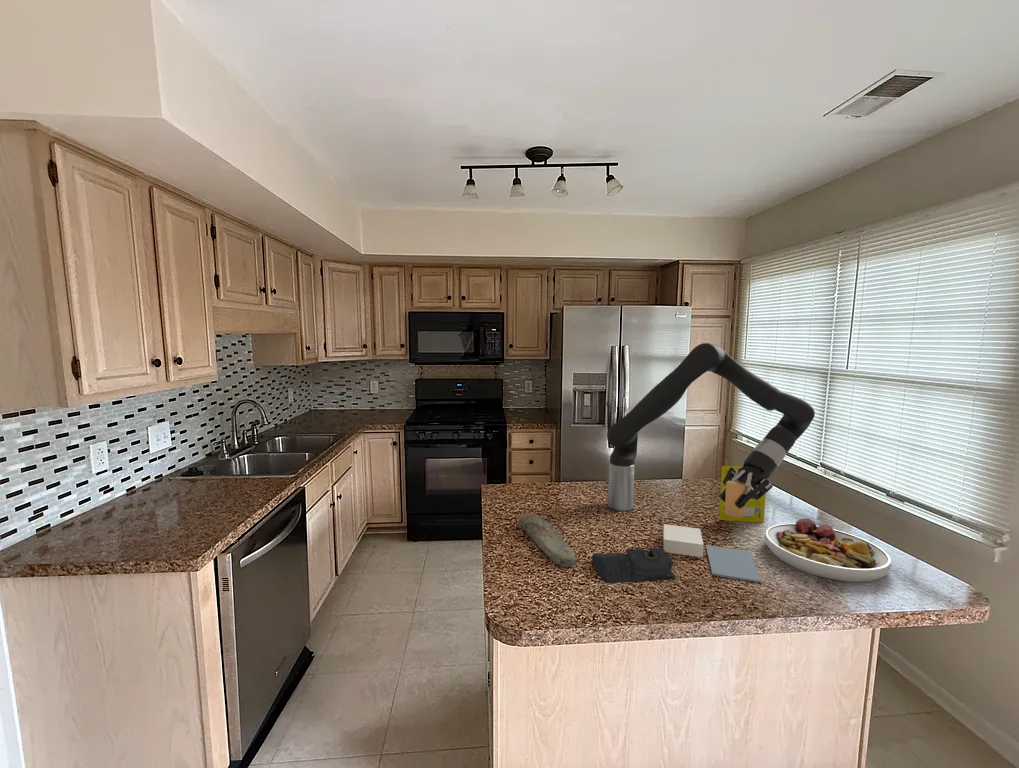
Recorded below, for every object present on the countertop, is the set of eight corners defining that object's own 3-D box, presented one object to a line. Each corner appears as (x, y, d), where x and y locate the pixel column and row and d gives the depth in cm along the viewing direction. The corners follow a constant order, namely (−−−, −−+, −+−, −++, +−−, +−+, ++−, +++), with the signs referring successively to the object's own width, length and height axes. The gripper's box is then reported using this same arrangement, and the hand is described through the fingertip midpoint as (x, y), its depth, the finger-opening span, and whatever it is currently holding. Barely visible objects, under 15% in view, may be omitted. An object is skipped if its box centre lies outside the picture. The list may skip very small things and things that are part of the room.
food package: (763, 521, 157) (766, 467, 156) (764, 523, 156) (767, 467, 154) (718, 519, 159) (721, 465, 157) (719, 521, 158) (722, 466, 156)
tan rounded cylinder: (726, 516, 124) (727, 485, 123) (723, 510, 129) (724, 480, 128) (745, 518, 123) (747, 487, 122) (742, 512, 127) (744, 481, 127)
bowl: (918, 593, 113) (921, 564, 112) (789, 581, 118) (791, 553, 117) (850, 542, 142) (852, 518, 141) (749, 534, 147) (751, 511, 147)
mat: (712, 575, 121) (712, 573, 120) (705, 546, 138) (705, 545, 137) (761, 583, 117) (761, 581, 117) (748, 552, 134) (749, 551, 134)
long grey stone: (552, 575, 123) (584, 572, 126) (554, 558, 122) (586, 554, 126) (512, 521, 156) (538, 519, 159) (513, 507, 155) (539, 505, 158)
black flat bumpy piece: (586, 558, 131) (586, 542, 130) (657, 554, 133) (657, 539, 133) (603, 586, 116) (603, 569, 115) (682, 581, 118) (683, 564, 118)
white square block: (663, 551, 134) (664, 539, 134) (663, 535, 145) (663, 524, 145) (702, 557, 130) (703, 544, 130) (699, 540, 142) (700, 528, 141)
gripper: (738, 444, 133) (704, 487, 131) (780, 455, 120) (742, 503, 117) (751, 460, 135) (718, 502, 133) (794, 473, 122) (757, 520, 119)
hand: (729, 502), depth 125 cm, fingers closed on tan rounded cylinder, 5 cm apart
